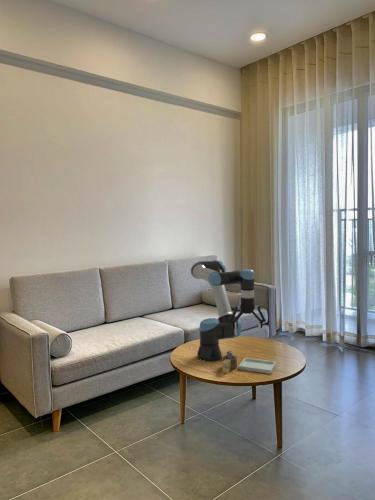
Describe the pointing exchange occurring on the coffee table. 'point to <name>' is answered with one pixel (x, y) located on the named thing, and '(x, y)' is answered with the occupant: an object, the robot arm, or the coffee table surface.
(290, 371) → the coffee table surface
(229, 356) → the cylinder
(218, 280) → the robot arm
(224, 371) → the brown octagonal handled piece
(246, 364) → the tray
